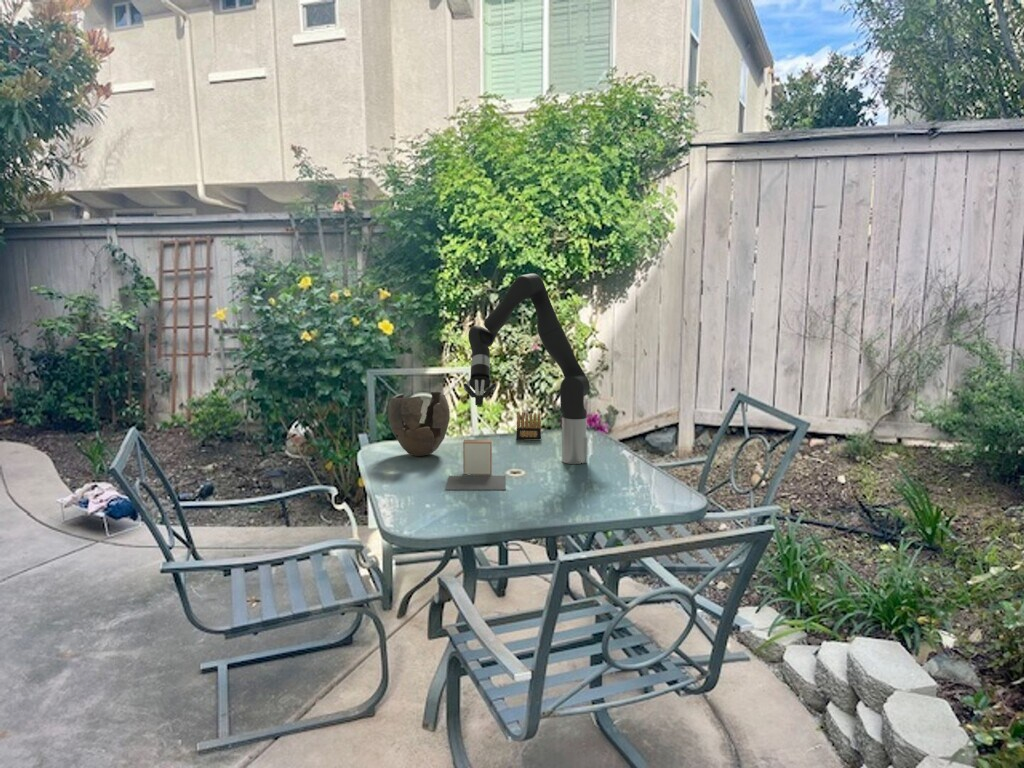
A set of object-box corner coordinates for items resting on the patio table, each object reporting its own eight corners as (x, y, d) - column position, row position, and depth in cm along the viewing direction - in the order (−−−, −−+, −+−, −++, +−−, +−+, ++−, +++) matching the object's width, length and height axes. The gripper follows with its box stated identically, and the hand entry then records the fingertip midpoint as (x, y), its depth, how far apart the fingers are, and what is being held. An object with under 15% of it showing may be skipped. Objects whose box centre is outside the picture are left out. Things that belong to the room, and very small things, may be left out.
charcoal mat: (505, 476, 250) (505, 475, 250) (505, 490, 234) (505, 489, 234) (448, 476, 250) (448, 475, 249) (445, 490, 234) (445, 489, 234)
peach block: (491, 471, 256) (491, 439, 254) (491, 475, 252) (491, 442, 250) (464, 471, 255) (463, 439, 254) (463, 475, 251) (463, 442, 250)
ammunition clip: (541, 439, 306) (541, 411, 304) (541, 440, 304) (541, 412, 302) (516, 438, 306) (516, 411, 304) (516, 439, 304) (516, 412, 303)
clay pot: (439, 464, 265) (438, 398, 261) (379, 460, 270) (377, 396, 266) (457, 448, 288) (456, 388, 284) (401, 445, 293) (399, 386, 289)
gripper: (463, 362, 274) (461, 399, 263) (497, 363, 274) (496, 400, 264) (463, 374, 280) (461, 410, 270) (497, 374, 280) (496, 411, 270)
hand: (479, 405), depth 267 cm, fingers closed
